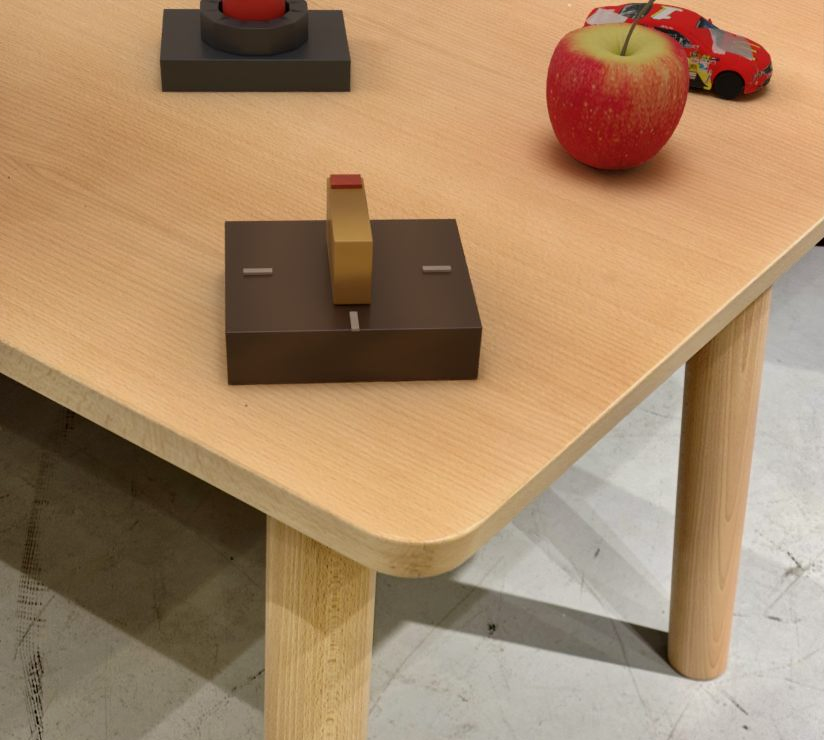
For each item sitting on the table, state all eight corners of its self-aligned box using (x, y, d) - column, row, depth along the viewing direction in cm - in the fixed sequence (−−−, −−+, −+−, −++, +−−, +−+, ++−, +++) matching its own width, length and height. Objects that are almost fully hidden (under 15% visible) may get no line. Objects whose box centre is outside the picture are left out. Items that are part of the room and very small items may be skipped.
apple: (701, 179, 83) (735, 16, 76) (576, 201, 80) (600, 34, 73) (633, 119, 88) (659, -39, 82) (514, 137, 86) (531, -24, 79)
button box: (162, 92, 88) (157, 31, 85) (165, 40, 94) (161, -19, 91) (350, 92, 89) (351, 32, 87) (342, 40, 95) (343, -18, 92)
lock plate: (227, 386, 65) (225, 330, 63) (226, 269, 73) (224, 216, 71) (478, 380, 67) (483, 326, 65) (451, 266, 74) (455, 214, 72)
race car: (774, 77, 94) (788, 19, 92) (760, 109, 90) (774, 50, 88) (588, 38, 97) (596, -18, 95) (567, 68, 93) (575, 10, 91)
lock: (371, 304, 66) (373, 236, 63) (333, 305, 66) (334, 236, 63) (361, 238, 70) (363, 171, 68) (326, 238, 70) (326, 172, 67)
